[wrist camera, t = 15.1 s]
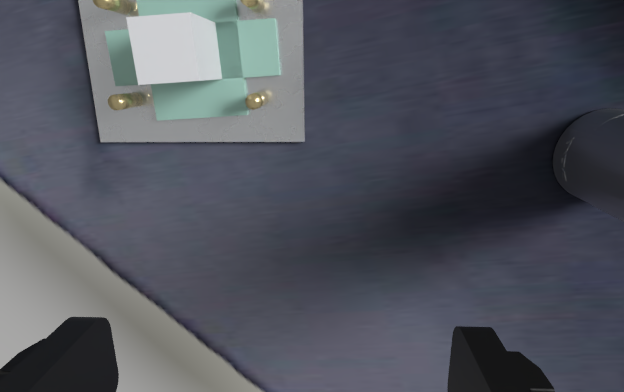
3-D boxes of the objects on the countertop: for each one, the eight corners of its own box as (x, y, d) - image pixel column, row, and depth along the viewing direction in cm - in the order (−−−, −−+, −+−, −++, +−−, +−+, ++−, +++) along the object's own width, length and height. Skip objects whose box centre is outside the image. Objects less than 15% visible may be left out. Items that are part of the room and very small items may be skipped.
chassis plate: (302, -47, 37) (298, -64, 33) (304, 140, 42) (301, 149, 38) (76, -42, 38) (41, -57, 34) (104, 140, 43) (77, 149, 39)
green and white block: (272, -23, 37) (257, -47, 30) (283, 112, 41) (272, 121, 33) (101, -9, 38) (45, -28, 31) (126, 121, 42) (81, 132, 34)
